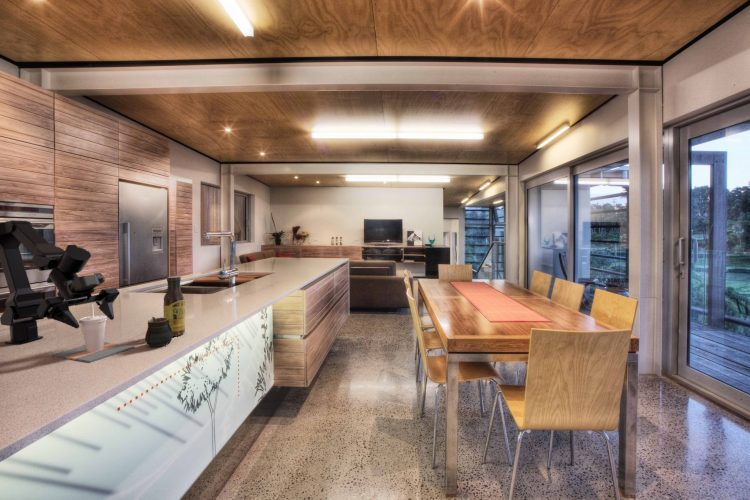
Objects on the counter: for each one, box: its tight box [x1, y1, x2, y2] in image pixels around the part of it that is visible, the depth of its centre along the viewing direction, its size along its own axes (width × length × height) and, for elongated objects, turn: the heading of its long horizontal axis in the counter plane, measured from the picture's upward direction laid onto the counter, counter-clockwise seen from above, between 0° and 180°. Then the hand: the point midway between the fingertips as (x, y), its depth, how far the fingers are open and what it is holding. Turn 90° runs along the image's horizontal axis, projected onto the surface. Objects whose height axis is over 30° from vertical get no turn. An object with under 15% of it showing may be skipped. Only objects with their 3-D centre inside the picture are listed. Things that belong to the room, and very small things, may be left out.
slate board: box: [51, 341, 136, 364], centre depth 99 cm, size 16×12×1 cm
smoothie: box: [78, 302, 108, 352], centre depth 99 cm, size 6×6×14 cm
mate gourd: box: [144, 316, 174, 348], centre depth 104 cm, size 7×8×10 cm
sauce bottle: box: [163, 275, 186, 337], centre depth 114 cm, size 6×6×20 cm
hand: (96, 323), depth 98 cm, fingers open, 9 cm apart
